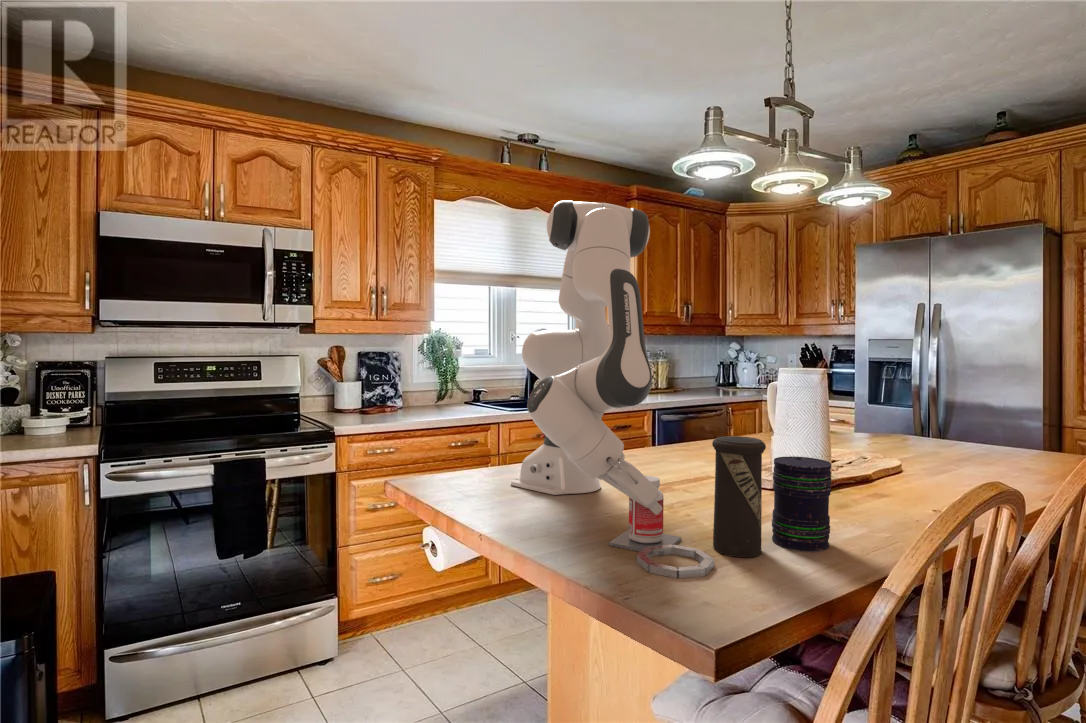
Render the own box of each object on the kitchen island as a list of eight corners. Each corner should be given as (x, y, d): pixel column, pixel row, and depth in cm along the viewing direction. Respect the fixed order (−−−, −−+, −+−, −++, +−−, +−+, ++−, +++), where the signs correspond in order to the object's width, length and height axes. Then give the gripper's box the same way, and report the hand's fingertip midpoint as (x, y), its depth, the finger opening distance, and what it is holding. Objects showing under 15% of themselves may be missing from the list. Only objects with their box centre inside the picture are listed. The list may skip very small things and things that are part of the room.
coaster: (608, 545, 111) (608, 542, 111) (630, 531, 120) (630, 527, 120) (662, 556, 106) (662, 552, 106) (681, 540, 115) (681, 536, 115)
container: (734, 561, 104) (736, 442, 103) (700, 545, 112) (702, 434, 111) (774, 554, 107) (777, 439, 106) (738, 539, 115) (740, 431, 115)
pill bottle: (670, 540, 112) (671, 479, 111) (644, 546, 109) (645, 483, 108) (646, 531, 117) (647, 473, 117) (621, 536, 114) (622, 476, 113)
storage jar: (836, 554, 108) (839, 468, 107) (777, 550, 110) (779, 465, 109) (821, 536, 118) (823, 457, 117) (766, 532, 119) (768, 455, 119)
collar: (628, 568, 100) (628, 560, 100) (653, 547, 110) (654, 541, 110) (699, 583, 94) (699, 575, 94) (719, 560, 104) (719, 552, 104)
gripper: (634, 451, 100) (688, 507, 103) (592, 432, 120) (638, 479, 123) (607, 480, 99) (662, 536, 102) (569, 455, 119) (617, 503, 122)
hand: (649, 505), depth 113 cm, fingers closed on pill bottle, 6 cm apart
